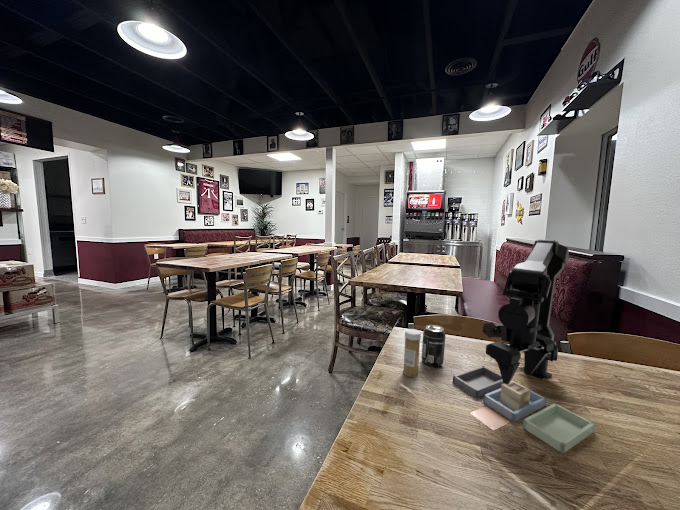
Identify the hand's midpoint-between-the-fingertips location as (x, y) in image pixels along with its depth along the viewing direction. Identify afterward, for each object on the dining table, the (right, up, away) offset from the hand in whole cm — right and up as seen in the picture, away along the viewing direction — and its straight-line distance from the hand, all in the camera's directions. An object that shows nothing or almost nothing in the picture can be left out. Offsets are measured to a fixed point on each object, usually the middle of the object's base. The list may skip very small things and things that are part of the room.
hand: (516, 379), depth 67 cm
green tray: (+4, -8, -8) cm, 12 cm away
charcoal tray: (-5, -6, +9) cm, 12 cm away
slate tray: (0, -7, +1) cm, 7 cm away
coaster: (-9, -8, -4) cm, 13 cm away
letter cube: (0, -7, +1) cm, 7 cm away
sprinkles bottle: (-23, -5, +14) cm, 28 cm away
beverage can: (-14, -5, +21) cm, 26 cm away
